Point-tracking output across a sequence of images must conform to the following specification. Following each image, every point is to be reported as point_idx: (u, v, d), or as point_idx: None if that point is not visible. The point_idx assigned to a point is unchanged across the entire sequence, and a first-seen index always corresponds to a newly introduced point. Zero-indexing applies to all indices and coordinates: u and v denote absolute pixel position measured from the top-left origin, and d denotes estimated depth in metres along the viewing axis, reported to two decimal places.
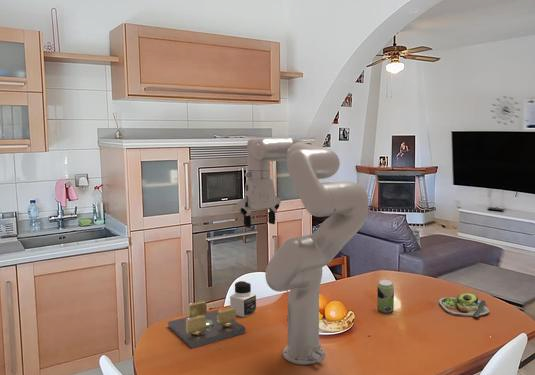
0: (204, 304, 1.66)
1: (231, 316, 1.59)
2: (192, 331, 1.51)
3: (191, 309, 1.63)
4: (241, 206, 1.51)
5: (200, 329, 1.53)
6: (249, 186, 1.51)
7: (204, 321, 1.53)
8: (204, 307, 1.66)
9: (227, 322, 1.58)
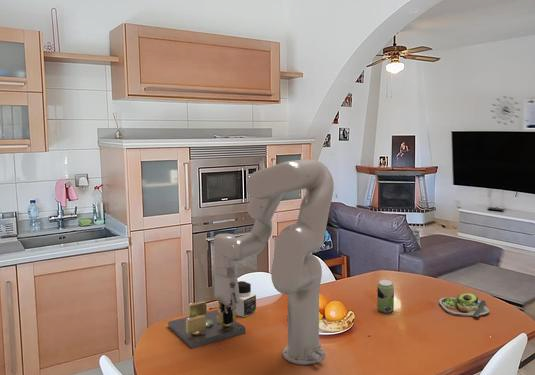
0: (204, 304, 1.66)
1: None
2: (192, 331, 1.51)
3: (191, 309, 1.63)
4: None
5: (200, 329, 1.53)
6: (236, 282, 1.54)
7: (204, 321, 1.53)
8: (204, 307, 1.66)
9: None
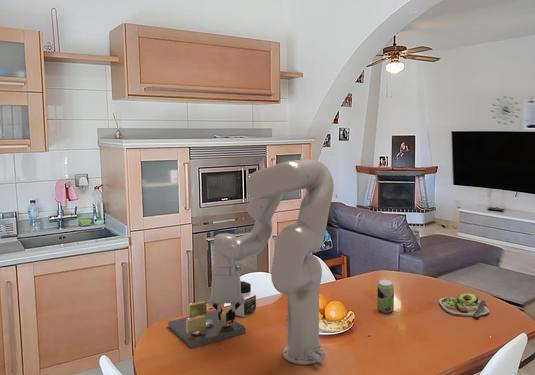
0: (204, 304, 1.66)
1: (230, 315, 1.60)
2: (192, 331, 1.51)
3: (191, 309, 1.63)
4: None
5: (200, 329, 1.53)
6: (239, 277, 1.59)
7: (204, 321, 1.53)
8: (204, 307, 1.66)
9: (229, 321, 1.58)
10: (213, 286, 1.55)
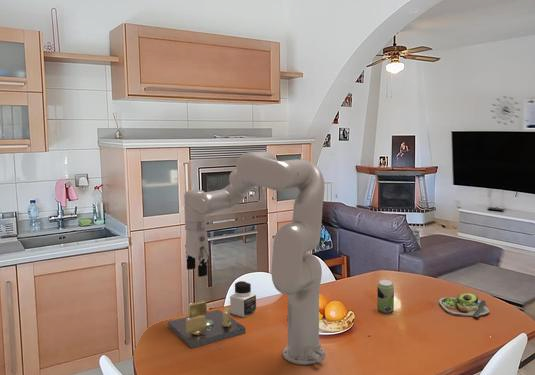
0: (204, 304, 1.66)
1: (229, 314, 1.60)
2: (192, 331, 1.51)
3: (191, 309, 1.63)
4: None
5: (200, 329, 1.53)
6: (205, 236, 1.59)
7: (204, 321, 1.53)
8: (204, 307, 1.66)
9: (229, 321, 1.59)
10: None
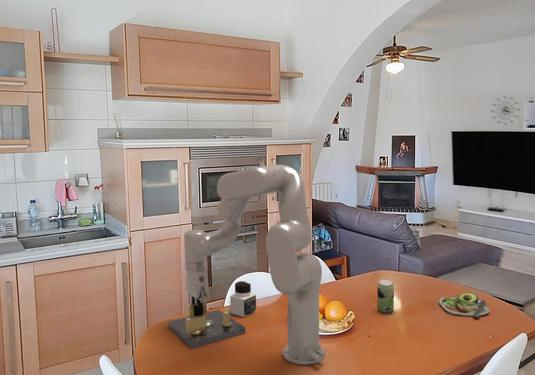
0: (204, 304, 1.66)
1: (229, 314, 1.60)
2: (192, 331, 1.51)
3: (191, 309, 1.63)
4: None
5: (200, 329, 1.53)
6: (205, 276, 1.61)
7: (204, 321, 1.53)
8: (204, 307, 1.66)
9: (229, 321, 1.59)
10: (186, 276, 1.67)
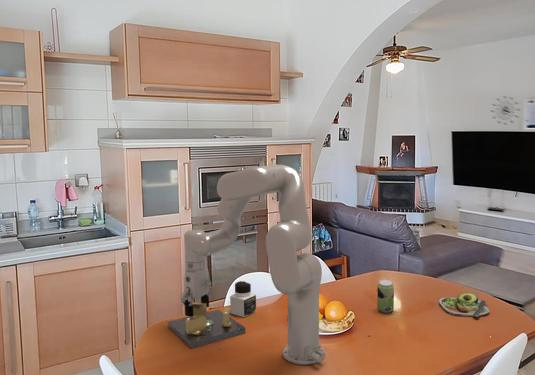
0: (202, 306, 1.64)
1: (229, 314, 1.60)
2: (192, 331, 1.51)
3: None
4: (185, 298, 1.58)
5: (200, 329, 1.53)
6: (191, 278, 1.59)
7: (204, 321, 1.53)
8: (202, 309, 1.64)
9: (229, 321, 1.59)
10: None
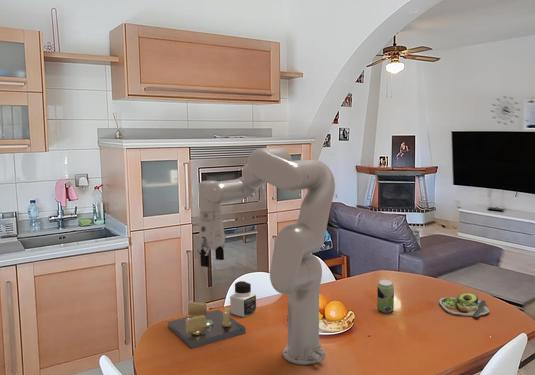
0: (202, 306, 1.64)
1: (229, 314, 1.60)
2: (192, 331, 1.51)
3: (189, 307, 1.65)
4: (201, 247, 1.57)
5: (200, 329, 1.53)
6: (207, 227, 1.58)
7: (204, 321, 1.53)
8: (202, 309, 1.64)
9: (229, 321, 1.59)
10: None
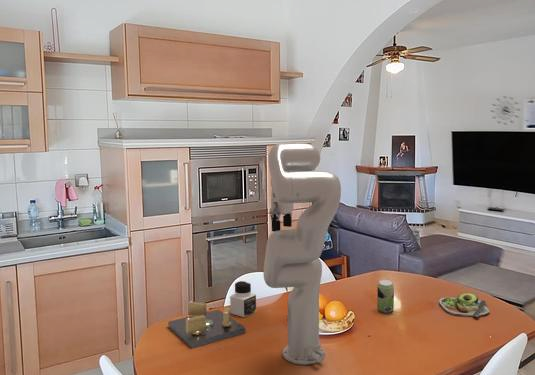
0: (202, 306, 1.64)
1: (229, 314, 1.60)
2: (192, 331, 1.51)
3: (189, 307, 1.66)
4: (274, 212, 1.59)
5: (200, 329, 1.53)
6: None
7: (204, 321, 1.53)
8: (202, 309, 1.64)
9: (229, 321, 1.59)
10: None
